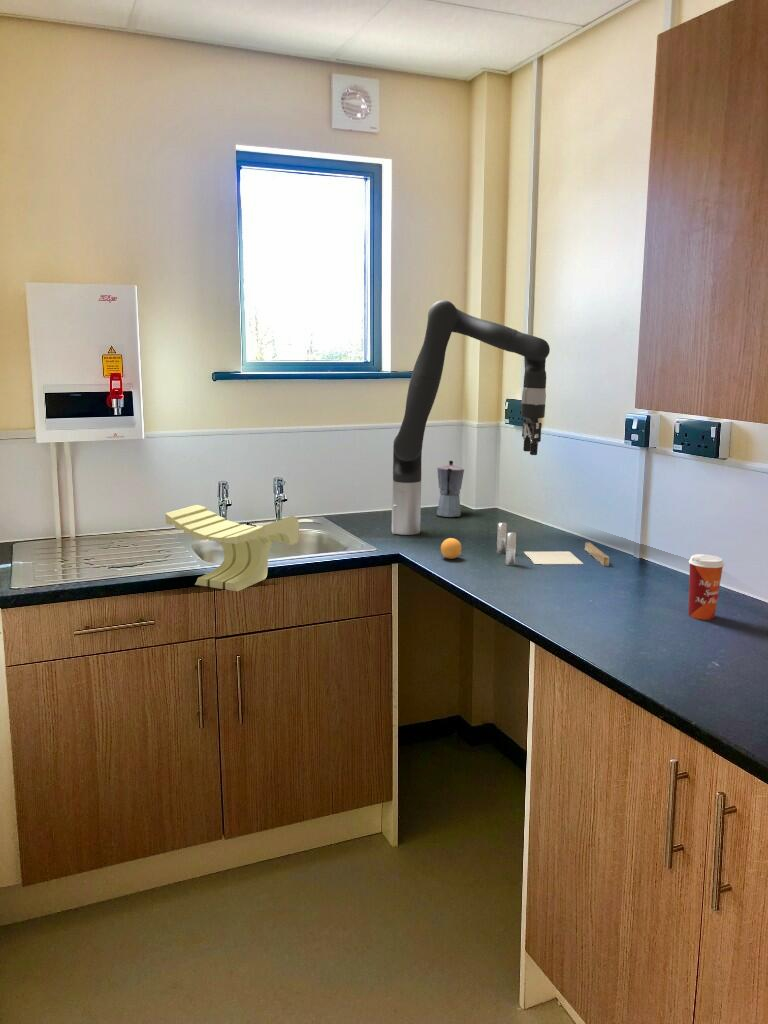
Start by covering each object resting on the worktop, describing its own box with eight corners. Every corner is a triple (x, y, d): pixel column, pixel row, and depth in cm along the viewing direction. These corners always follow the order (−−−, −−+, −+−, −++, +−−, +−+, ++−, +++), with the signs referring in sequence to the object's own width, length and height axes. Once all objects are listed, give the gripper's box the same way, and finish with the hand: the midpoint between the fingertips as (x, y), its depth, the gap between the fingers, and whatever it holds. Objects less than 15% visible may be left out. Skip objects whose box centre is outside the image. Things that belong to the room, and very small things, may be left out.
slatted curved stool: (299, 579, 218) (298, 513, 215) (266, 596, 204) (265, 525, 201) (205, 565, 231) (203, 502, 227) (168, 580, 216) (165, 513, 213)
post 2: (506, 565, 235) (508, 534, 233) (504, 563, 238) (506, 532, 236) (515, 565, 235) (517, 534, 233) (513, 562, 238) (515, 532, 236)
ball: (442, 561, 239) (442, 540, 237) (439, 555, 245) (439, 536, 243) (462, 561, 239) (463, 540, 238) (459, 555, 245) (460, 536, 244)
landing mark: (534, 564, 236) (534, 563, 236) (523, 552, 250) (523, 551, 250) (583, 564, 237) (583, 563, 237) (569, 552, 251) (569, 551, 251)
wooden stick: (603, 566, 236) (604, 557, 235) (584, 550, 253) (585, 542, 253) (608, 566, 236) (609, 557, 235) (589, 550, 253) (590, 542, 253)
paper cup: (701, 623, 188) (706, 563, 186) (676, 613, 195) (681, 555, 192) (727, 619, 191) (733, 560, 189) (702, 609, 198) (707, 552, 196)
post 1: (497, 553, 248) (498, 524, 246) (495, 551, 250) (496, 522, 249) (506, 553, 248) (507, 524, 246) (504, 551, 251) (505, 522, 249)
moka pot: (462, 512, 308) (464, 458, 304) (462, 520, 293) (464, 464, 289) (436, 511, 309) (438, 457, 305) (435, 520, 294) (436, 463, 290)
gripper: (516, 400, 271) (513, 450, 274) (527, 403, 257) (523, 455, 261) (539, 401, 272) (535, 450, 275) (551, 404, 258) (547, 456, 261)
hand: (530, 453), depth 268 cm, fingers open, 8 cm apart
